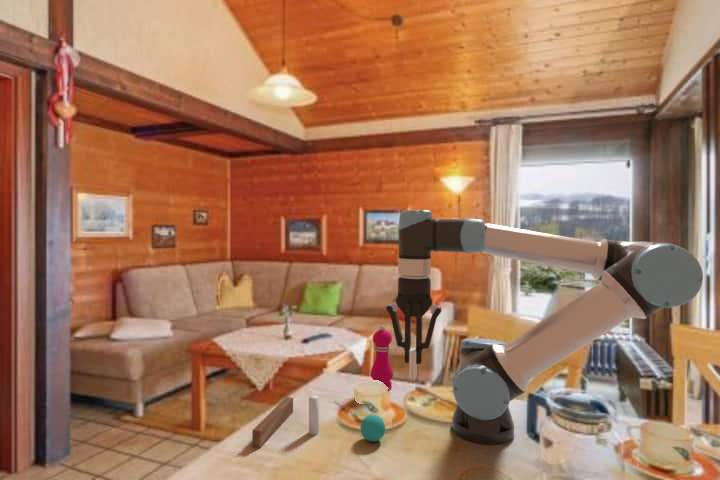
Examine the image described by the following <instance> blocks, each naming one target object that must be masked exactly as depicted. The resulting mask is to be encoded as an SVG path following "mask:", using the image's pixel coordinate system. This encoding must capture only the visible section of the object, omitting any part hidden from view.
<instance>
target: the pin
mask: <svg viewBox="0 0 720 480" xmlns="http://www.w3.org/2000/svg"><path fill="white" fill-rule="evenodd" d="M319 398H320V397H319V396H318V395H315V394H312V395H309V397H308V434H309V435H310V436H316V435H318V434H319V432H320V431H319V424H320V423H319V421H320V419H319V415H320V410H319V408H320V407H319V404H320V402H319Z"/></svg>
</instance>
